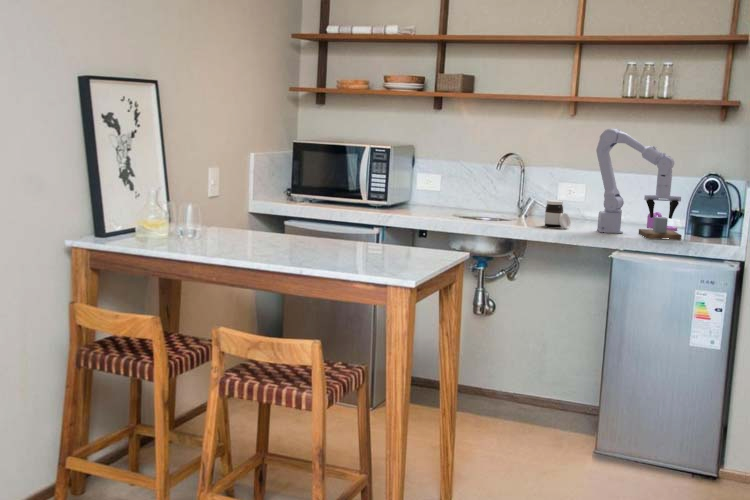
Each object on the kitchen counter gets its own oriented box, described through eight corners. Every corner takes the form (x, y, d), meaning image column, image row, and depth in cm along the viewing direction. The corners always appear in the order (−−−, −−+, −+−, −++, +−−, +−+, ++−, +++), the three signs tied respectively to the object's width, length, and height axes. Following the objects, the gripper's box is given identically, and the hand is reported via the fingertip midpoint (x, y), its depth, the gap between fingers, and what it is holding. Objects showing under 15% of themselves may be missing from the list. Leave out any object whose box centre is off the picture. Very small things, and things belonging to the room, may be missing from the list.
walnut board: (646, 238, 349) (646, 233, 349) (638, 233, 363) (638, 229, 362) (681, 240, 348) (681, 235, 348) (671, 234, 362) (672, 230, 362)
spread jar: (545, 225, 382) (547, 199, 380) (571, 226, 379) (573, 200, 377) (542, 228, 371) (544, 201, 369) (569, 230, 367) (570, 203, 365)
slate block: (655, 232, 353) (656, 218, 352) (652, 230, 358) (653, 216, 357) (666, 232, 353) (667, 218, 352) (663, 231, 358) (664, 217, 356)
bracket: (646, 227, 383) (647, 212, 381) (653, 227, 386) (654, 211, 385) (672, 231, 373) (674, 215, 372) (679, 230, 377) (680, 215, 375)
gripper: (648, 185, 348) (645, 218, 351) (684, 187, 347) (681, 219, 350) (644, 184, 355) (641, 216, 358) (679, 185, 354) (676, 217, 357)
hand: (660, 218), depth 354 cm, fingers open, 7 cm apart
